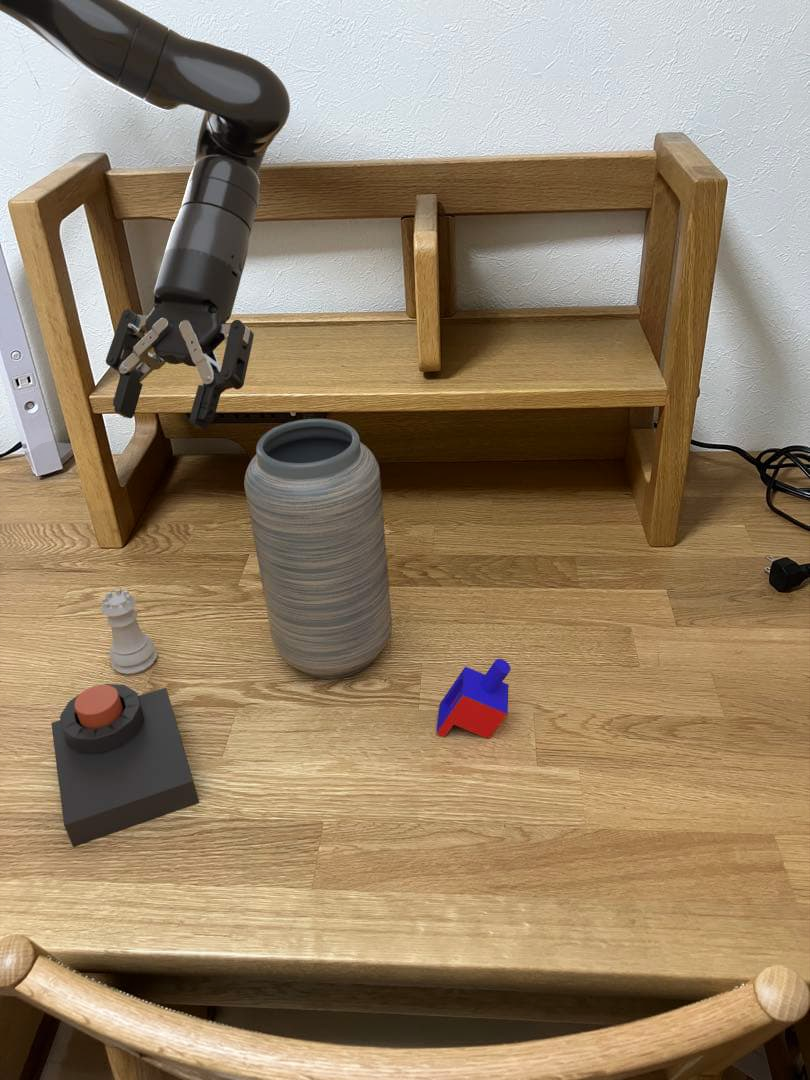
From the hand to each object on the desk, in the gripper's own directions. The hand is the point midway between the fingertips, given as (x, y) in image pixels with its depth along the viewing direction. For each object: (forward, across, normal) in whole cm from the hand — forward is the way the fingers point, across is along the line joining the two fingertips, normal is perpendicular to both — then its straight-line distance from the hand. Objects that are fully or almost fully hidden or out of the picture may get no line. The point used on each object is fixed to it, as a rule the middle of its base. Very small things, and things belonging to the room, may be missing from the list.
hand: (159, 421), depth 85 cm
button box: (+31, +8, -2) cm, 32 cm away
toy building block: (+21, +34, +9) cm, 41 cm away
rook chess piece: (+23, 0, +7) cm, 24 cm away
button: (+27, +5, -4) cm, 28 cm away
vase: (+17, +18, +12) cm, 28 cm away
